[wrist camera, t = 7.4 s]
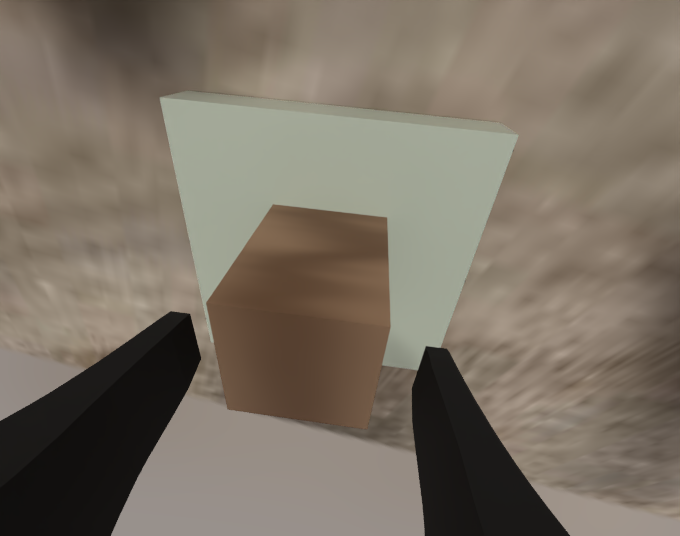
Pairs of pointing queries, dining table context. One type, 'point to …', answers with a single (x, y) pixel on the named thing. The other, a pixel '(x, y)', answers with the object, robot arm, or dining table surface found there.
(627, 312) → the dining table surface
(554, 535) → the robot arm
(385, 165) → the pale green block
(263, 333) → the walnut block
